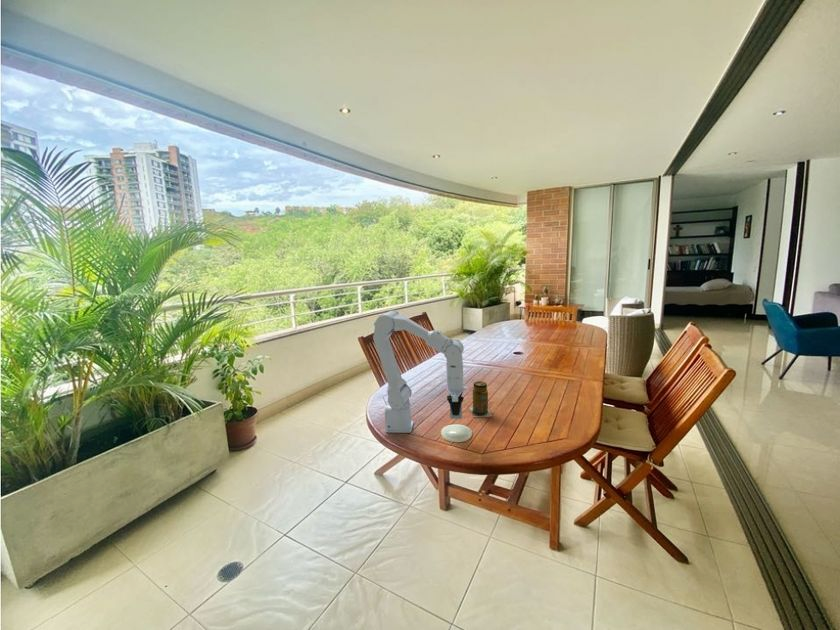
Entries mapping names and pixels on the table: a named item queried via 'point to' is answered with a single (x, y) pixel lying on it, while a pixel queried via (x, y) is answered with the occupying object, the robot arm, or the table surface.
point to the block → (454, 415)
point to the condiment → (480, 400)
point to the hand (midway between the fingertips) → (455, 411)
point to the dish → (456, 433)
